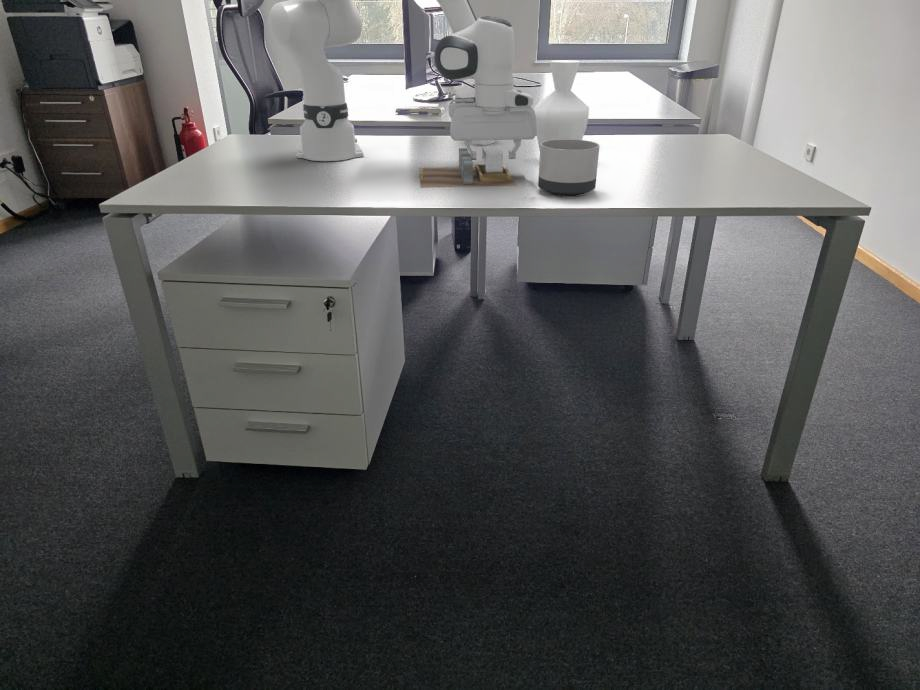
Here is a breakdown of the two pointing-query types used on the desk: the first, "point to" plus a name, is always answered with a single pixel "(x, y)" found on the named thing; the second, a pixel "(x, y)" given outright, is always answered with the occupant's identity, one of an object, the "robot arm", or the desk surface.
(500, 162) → the bar
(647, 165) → the desk surface
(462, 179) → the board
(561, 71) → the vase
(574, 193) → the planter
